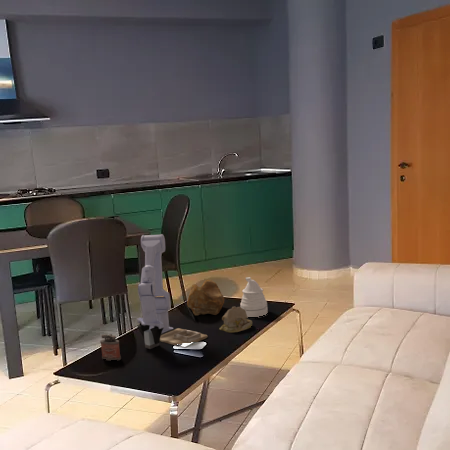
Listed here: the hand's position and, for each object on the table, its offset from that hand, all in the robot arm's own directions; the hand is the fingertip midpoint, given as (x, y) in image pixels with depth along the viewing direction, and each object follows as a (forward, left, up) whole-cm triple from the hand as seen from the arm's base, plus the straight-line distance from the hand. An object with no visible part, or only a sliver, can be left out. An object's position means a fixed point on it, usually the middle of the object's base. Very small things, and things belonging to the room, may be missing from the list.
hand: (151, 342), depth 232 cm
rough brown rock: (-11, +47, -2) cm, 48 cm away
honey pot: (+10, +56, -2) cm, 57 cm away
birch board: (+4, +13, -2) cm, 14 cm away
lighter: (-4, -18, -2) cm, 19 cm away
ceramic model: (+15, +36, -2) cm, 39 cm away
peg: (0, 0, -2) cm, 2 cm away
